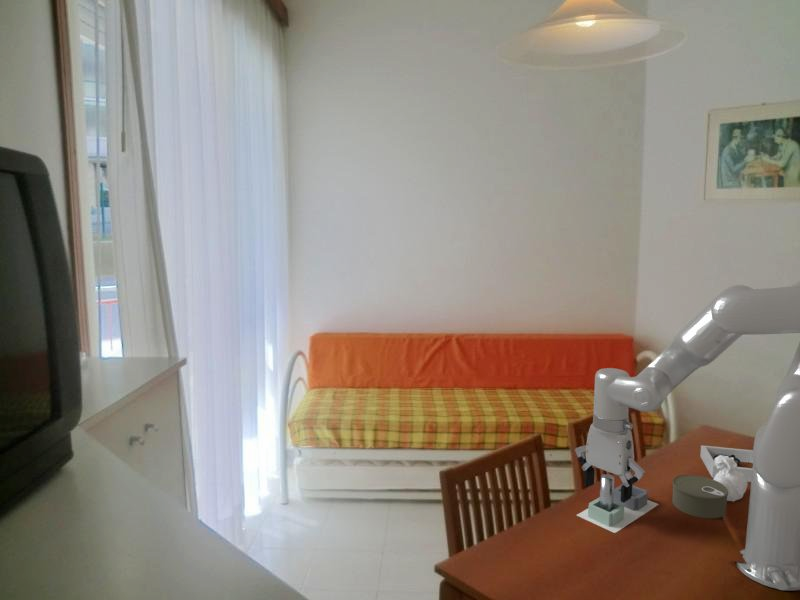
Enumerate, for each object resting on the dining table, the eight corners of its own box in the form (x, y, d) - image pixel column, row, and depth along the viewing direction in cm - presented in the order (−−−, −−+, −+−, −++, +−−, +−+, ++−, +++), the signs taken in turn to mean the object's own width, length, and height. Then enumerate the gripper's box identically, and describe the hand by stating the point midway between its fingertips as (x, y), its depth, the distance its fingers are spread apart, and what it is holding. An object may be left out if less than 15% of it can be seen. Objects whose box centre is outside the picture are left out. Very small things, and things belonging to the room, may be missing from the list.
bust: (739, 497, 150) (716, 456, 155) (764, 490, 144) (739, 447, 149) (712, 509, 144) (689, 466, 149) (737, 502, 138) (712, 457, 143)
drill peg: (613, 521, 132) (614, 480, 131) (599, 519, 133) (601, 479, 131) (612, 515, 135) (613, 475, 133) (598, 513, 135) (600, 473, 134)
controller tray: (772, 484, 152) (773, 472, 152) (712, 477, 156) (713, 465, 156) (755, 461, 166) (756, 450, 166) (700, 456, 170) (701, 445, 170)
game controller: (712, 456, 169) (730, 445, 166) (726, 471, 167) (744, 461, 164) (709, 468, 161) (728, 457, 158) (724, 484, 159) (743, 473, 156)
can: (686, 495, 147) (688, 470, 146) (735, 514, 137) (737, 488, 136) (661, 509, 140) (662, 483, 139) (710, 530, 131) (712, 503, 130)
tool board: (614, 539, 127) (615, 520, 127) (576, 520, 135) (576, 503, 134) (658, 509, 140) (659, 492, 139) (620, 494, 147) (621, 478, 147)
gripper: (655, 429, 126) (650, 501, 128) (586, 409, 139) (583, 475, 142) (637, 437, 121) (633, 512, 124) (568, 416, 135) (565, 484, 137)
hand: (606, 492), depth 133 cm, fingers open, 9 cm apart
